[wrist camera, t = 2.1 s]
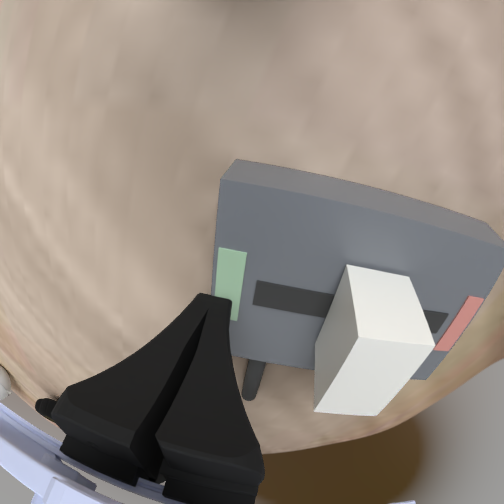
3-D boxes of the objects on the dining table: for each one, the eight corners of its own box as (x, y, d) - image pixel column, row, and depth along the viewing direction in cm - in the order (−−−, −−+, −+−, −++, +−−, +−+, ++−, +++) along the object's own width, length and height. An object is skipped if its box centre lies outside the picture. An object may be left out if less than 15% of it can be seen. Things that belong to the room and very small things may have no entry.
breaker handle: (408, 276, 12) (435, 345, 8) (368, 350, 14) (376, 416, 11) (346, 264, 12) (358, 337, 9) (315, 343, 15) (313, 411, 11)
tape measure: (36, 392, 35) (31, 412, 32) (56, 395, 33) (51, 417, 30) (66, 409, 39) (62, 427, 37) (88, 412, 38) (84, 432, 35)
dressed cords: (392, 337, 18) (395, 350, 17) (345, 404, 23) (345, 416, 22) (258, 315, 19) (255, 329, 18) (242, 390, 24) (239, 401, 22)
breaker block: (486, 222, 13) (513, 252, 10) (417, 346, 18) (426, 380, 16) (236, 159, 14) (219, 179, 11) (219, 314, 19) (207, 351, 16)
